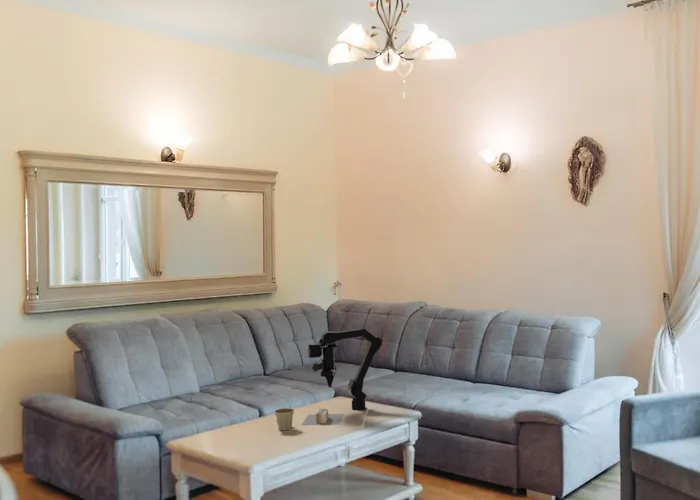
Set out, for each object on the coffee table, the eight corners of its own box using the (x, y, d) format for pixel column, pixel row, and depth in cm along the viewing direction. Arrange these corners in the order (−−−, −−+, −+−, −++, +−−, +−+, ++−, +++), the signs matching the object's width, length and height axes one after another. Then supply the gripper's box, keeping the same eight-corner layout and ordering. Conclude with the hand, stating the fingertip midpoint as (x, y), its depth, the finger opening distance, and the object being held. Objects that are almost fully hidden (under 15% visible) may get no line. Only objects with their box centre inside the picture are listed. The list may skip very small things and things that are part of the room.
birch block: (328, 408, 341) (325, 413, 331) (328, 417, 341) (325, 423, 331) (318, 408, 341) (315, 413, 331) (319, 418, 341) (316, 423, 332)
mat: (343, 415, 348) (343, 413, 348) (339, 425, 328) (339, 424, 328) (308, 415, 349) (308, 414, 349) (301, 426, 329) (301, 425, 329)
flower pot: (294, 431, 321) (293, 412, 321) (273, 432, 322) (273, 413, 322) (296, 425, 331) (295, 407, 331) (276, 426, 331) (275, 408, 331)
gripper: (315, 354, 363) (316, 383, 363) (309, 360, 345) (311, 391, 345) (336, 353, 362) (338, 383, 362) (332, 359, 343) (333, 391, 344)
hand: (329, 387), depth 353 cm, fingers closed
